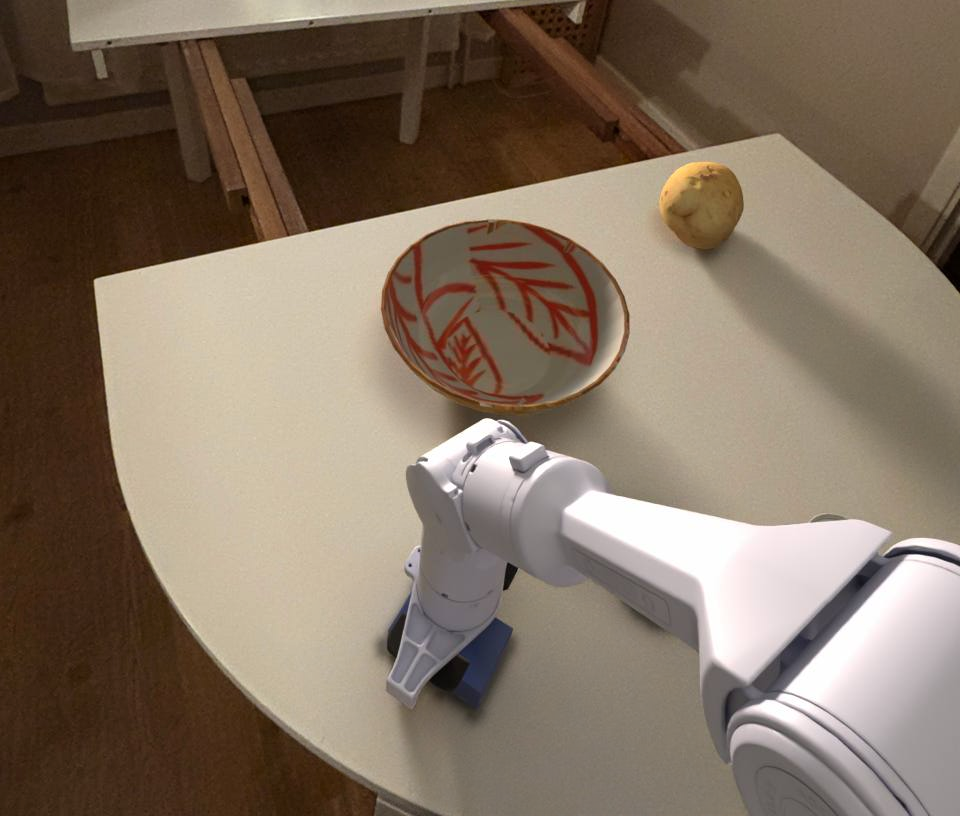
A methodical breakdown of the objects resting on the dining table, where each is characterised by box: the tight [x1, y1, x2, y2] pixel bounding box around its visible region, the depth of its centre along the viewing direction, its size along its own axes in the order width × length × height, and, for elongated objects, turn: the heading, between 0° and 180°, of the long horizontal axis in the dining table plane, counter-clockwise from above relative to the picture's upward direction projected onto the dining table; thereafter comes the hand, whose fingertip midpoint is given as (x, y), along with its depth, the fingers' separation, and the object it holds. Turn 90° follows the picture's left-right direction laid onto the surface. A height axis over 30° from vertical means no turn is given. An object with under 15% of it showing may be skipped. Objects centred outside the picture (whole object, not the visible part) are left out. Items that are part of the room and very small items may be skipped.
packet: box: [387, 591, 514, 711], centre depth 58 cm, size 8×5×4 cm, turn 61°
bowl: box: [380, 218, 631, 416], centre depth 79 cm, size 25×25×8 cm
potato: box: [659, 161, 745, 250], centre depth 97 cm, size 10×12×10 cm
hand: (449, 638), depth 58 cm, fingers closed on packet, 5 cm apart
